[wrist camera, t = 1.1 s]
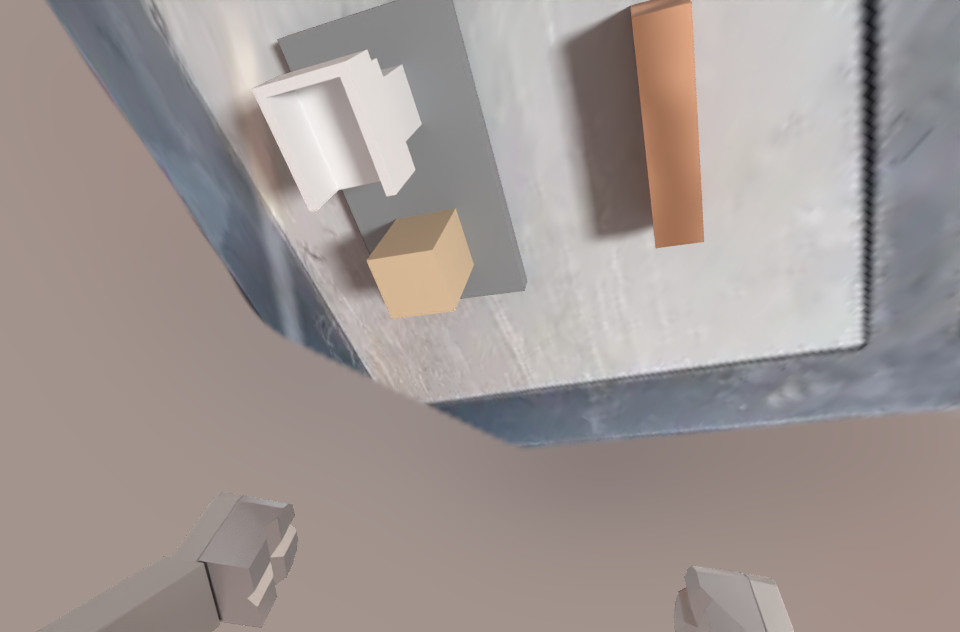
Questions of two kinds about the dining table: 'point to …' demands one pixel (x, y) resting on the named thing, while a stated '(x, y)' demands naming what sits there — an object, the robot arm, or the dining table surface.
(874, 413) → the dining table surface
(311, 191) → the rail stand
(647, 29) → the rail
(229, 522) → the robot arm
